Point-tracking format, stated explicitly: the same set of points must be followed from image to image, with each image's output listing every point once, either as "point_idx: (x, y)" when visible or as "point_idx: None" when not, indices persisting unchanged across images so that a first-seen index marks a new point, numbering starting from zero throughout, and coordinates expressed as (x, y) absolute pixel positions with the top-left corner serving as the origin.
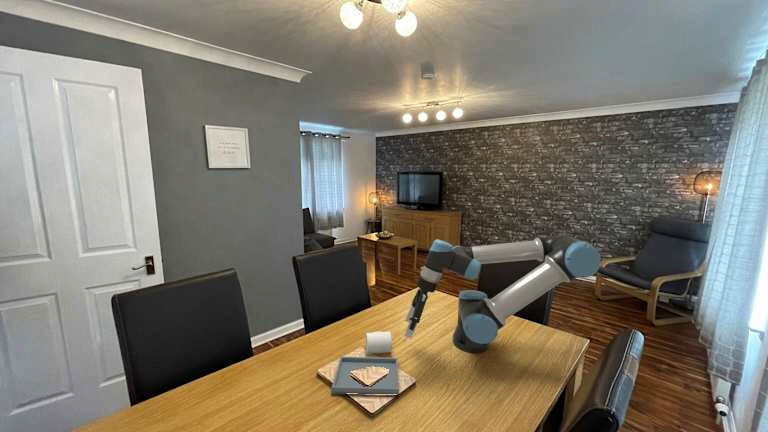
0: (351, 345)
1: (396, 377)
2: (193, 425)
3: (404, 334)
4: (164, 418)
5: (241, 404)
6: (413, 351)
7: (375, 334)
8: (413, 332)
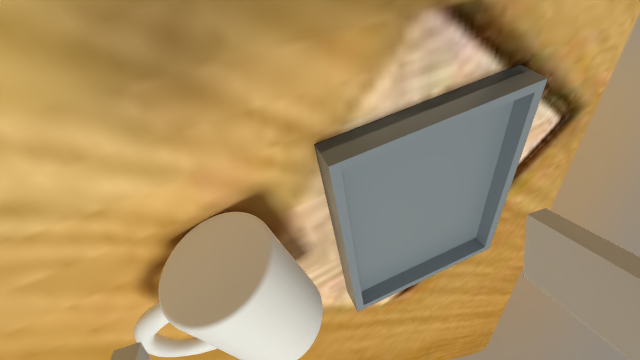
0: None
1: (477, 113)
2: (503, 310)
3: (537, 277)
4: (485, 333)
5: (476, 308)
6: (133, 104)
7: (279, 347)
8: (620, 248)
